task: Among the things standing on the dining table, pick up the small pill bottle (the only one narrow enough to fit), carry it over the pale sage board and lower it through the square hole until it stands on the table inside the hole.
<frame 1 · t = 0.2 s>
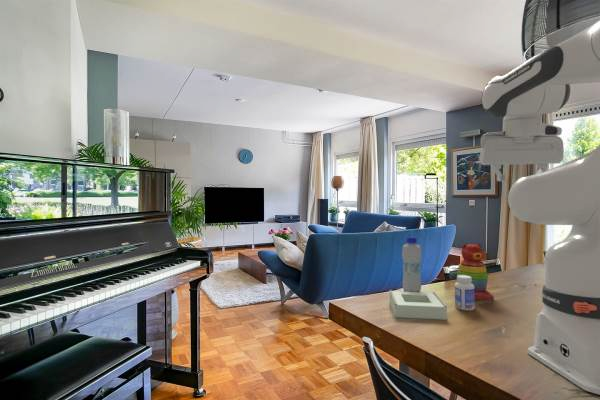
hand: (518, 180, 93), 39 cm above the table, tool pointing down, fingers open, 8 cm apart
holed board: (416, 310, 100), on the table
pill bottle: (464, 308, 102), on the table
stacking bear: (472, 296, 114), on the table
bottle: (411, 293, 118), on the table
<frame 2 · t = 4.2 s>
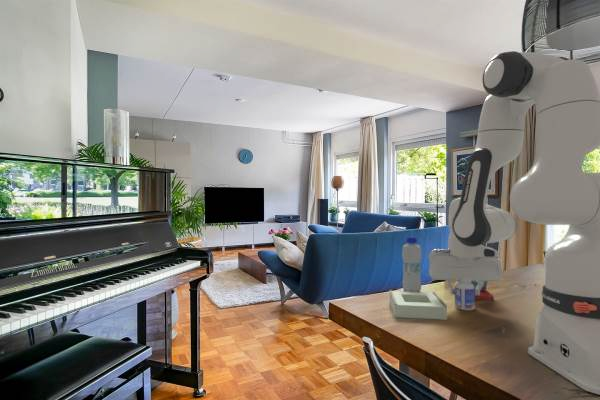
hand: (464, 294, 102), 4 cm above the table, tool pointing down, fingers closed on pill bottle, 5 cm apart
pill bottle: (464, 308, 102), on the table, touching gripper
everything else where it was.
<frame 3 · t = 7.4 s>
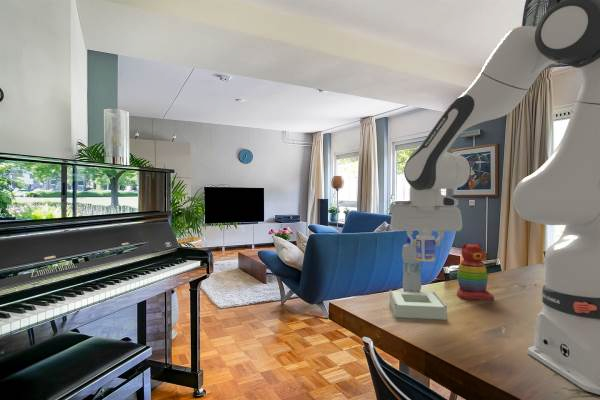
hand: (425, 245, 100), 19 cm above the table, tool pointing down, fingers closed on pill bottle, 5 cm apart
pill bottle: (425, 260, 100), point 15 cm above the table, touching gripper
everything else where it was.
when the fingers open (6 cm above the table, at t = 10.6 s): pill bottle drops 1 cm, resting in holed board.
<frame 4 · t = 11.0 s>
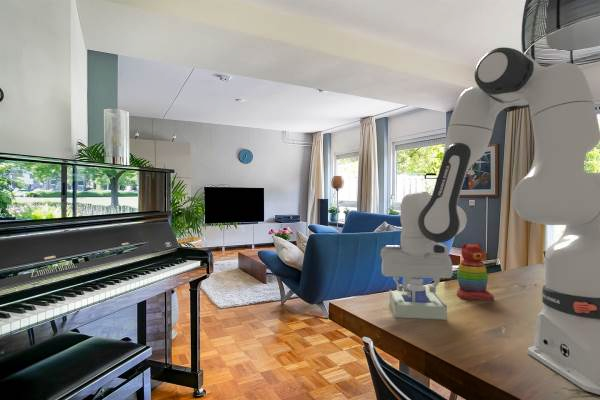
hand: (416, 291, 100), 6 cm above the table, tool pointing down, fingers open, 8 cm apart
pill bottle: (416, 310, 100), resting in holed board
everything else where it was.
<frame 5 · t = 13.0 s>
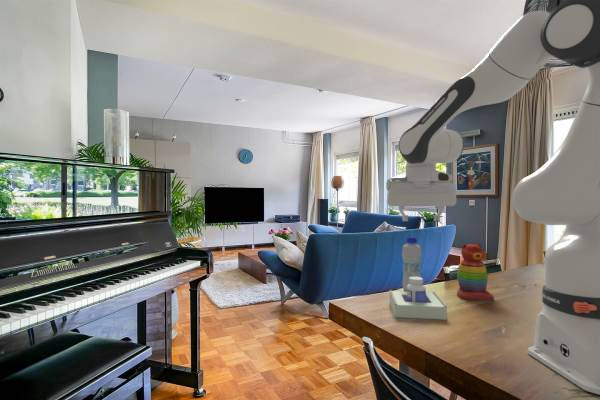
hand: (420, 221, 103), 27 cm above the table, tool pointing down, fingers open, 8 cm apart
nothing on the table moved.
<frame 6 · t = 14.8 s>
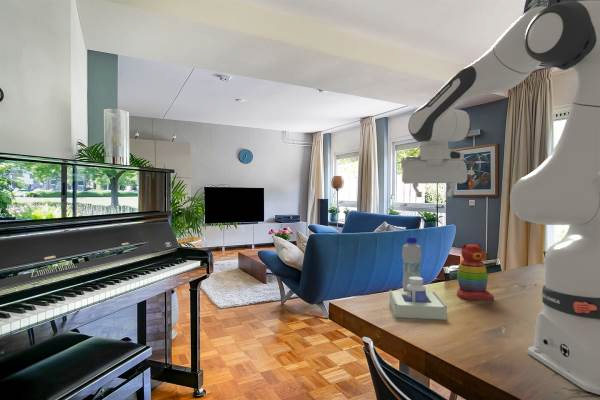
hand: (433, 197, 110), 34 cm above the table, tool pointing down, fingers open, 8 cm apart
nothing on the table moved.
at the end: pill bottle inside the target area on the holed board (0.1 cm from its centre), point 0.0 cm above the holed board's base; pill bottle tilted 0°; the gripper is holding nothing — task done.
